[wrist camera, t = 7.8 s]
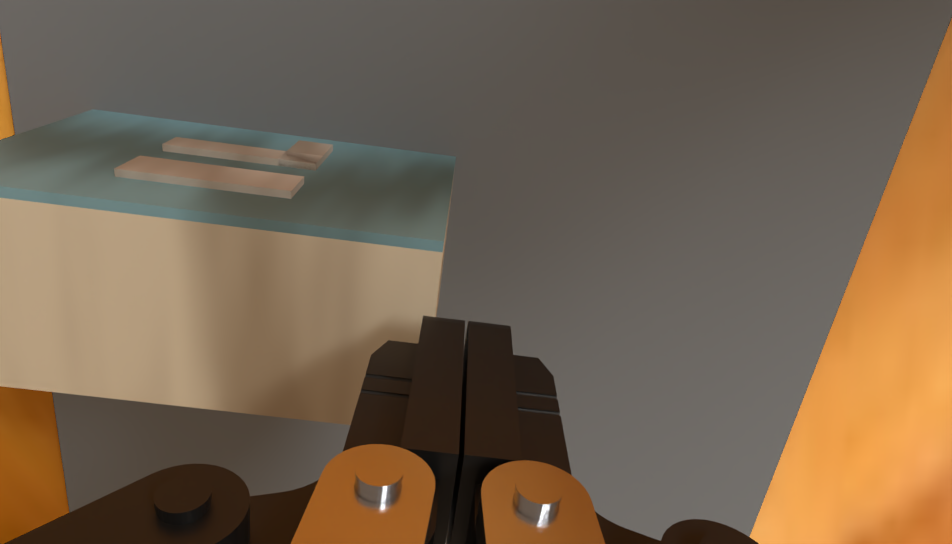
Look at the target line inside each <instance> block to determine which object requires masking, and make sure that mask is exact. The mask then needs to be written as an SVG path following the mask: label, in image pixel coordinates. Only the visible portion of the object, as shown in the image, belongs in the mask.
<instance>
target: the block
mask: <svg viewBox="0 0 952 544" xmlns="http://www.w3.org/2000/svg"><path fill="white" fill-rule="evenodd" d="M455 161H456V157H455V156H447V155H440V154H432V153H424V152H417V151H409V150H401V149H394V148H386V147H378V146H371V145H363V144H355V143H348V142H340V141H332V140H325V139H317V138H309V137H302V136H294V135H286V134H279V133H271V132H263V131H256V130H248V129H240V128H233V127H225V126H217V125H210V124H202V123H194V122H187V121H179V120H171V119H164V118H156V117H148V116H141V115H133V114H125V113H117V112H110V111H102V110H94V109H92V110H89V111H86V112H83V113H80V114H77V115H74V116H71V117H68V118H65V119H62V120H59V121H56V122H53V123H50V124H47V125H44V126H41V127H38V128H35V129H32V130H29V131H26V132H23V133H20V134H17V135H14V136H11V137H8V138H5V139H2V140H0V386H3V387H12V388H21V389H30V390H39V391H48V392H57V393H66V394H75V395H84V396H93V397H102V398H111V399H120V400H129V401H138V402H147V403H156V404H165V405H174V406H183V407H192V408H201V409H210V410H219V411H228V412H237V413H246V414H255V415H264V416H273V417H282V418H291V419H300V420H309V421H318V422H327V423H336V424H345V425H351V422H352V418H353V415H354V412H355V408H356V405H357V401H358V398H359V394H360V393H361V388H362V384H363V381H364V377H365V375H366V371H367V367H368V364H369V360H370V357H371V354H373V353H374V352H375V351H376V350H377V349H379V348H380V347H381V346H382V345H383V344H384V343H386V342H387V341H388V340H391V341H400V342H408V343H417V344H418V342H419V336H420V331H421V325H422V319H423V315H424V316H432V317H436V316H437V309H438V301H439V293H440V285H441V277H442V269H443V260H444V252H445V244H446V235H447V227H448V219H449V210H450V202H451V194H452V186H453V177H454V169H455Z"/></svg>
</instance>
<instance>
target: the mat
mask: <svg viewBox="0 0 952 544" xmlns="http://www.w3.org/2000/svg"><path fill="white" fill-rule="evenodd" d="M951 18H952V0H0V34H1V41H2V48H3V54H4V61H5V68H6V75H7V82H8V89H9V96H10V103H11V110H12V117H13V124H14V131H15V135H17V134H20V133H23V132H26V131H29V130H32V129H35V128H38V127H41V126H44V125H47V124H50V123H53V122H56V121H59V120H62V119H65V118H68V117H71V116H74V115H77V114H80V113H83V112H86V111H89V110H92V109H94V110H102V111H110V112H117V113H125V114H133V115H141V116H148V117H156V118H164V119H171V120H179V121H187V122H194V123H202V124H210V125H217V126H225V127H233V128H240V129H248V130H256V131H263V132H271V133H279V134H286V135H294V136H302V137H309V138H317V139H325V140H332V141H340V142H348V143H355V144H363V145H371V146H378V147H386V148H394V149H401V150H409V151H417V152H424V153H432V154H440V155H447V156H455V157H456V161H455V169H454V177H453V186H452V194H451V202H450V210H449V219H448V227H447V235H446V244H445V252H444V260H443V269H442V277H441V285H440V293H439V301H438V309H437V316H436V317H440V318H449V319H457V320H465V333H464V344H465V337H466V331H467V325H468V321H475V322H483V323H491V324H500V325H508V326H510V327H511V335H512V347H513V355H519V356H528V357H536V358H539V359H540V361H541V362H542V363H543V364H544V365H545V366H546V368H547V369H548V370H549V371H550V372H551V374H552V375H553V376H554V382H555V387H556V393H557V399H558V403H559V409H560V416H561V420H562V425H563V431H564V436H565V442H566V447H567V452H568V458H569V463H570V469H571V474H572V476H573V477H574V478H575V479H577V480H578V481H579V482H580V483H581V484H582V485H583V486H584V488H585V489H586V491H587V492H588V494H589V496H590V498H591V500H592V503H593V506H594V510H595V512H597V513H598V514H599V515H601V516H602V517H604V518H605V519H607V520H609V521H611V522H613V523H615V524H617V525H619V526H621V527H624V528H626V529H629V530H632V531H634V532H637V533H640V534H643V535H646V536H648V537H651V538H654V539H657V540H660V541H661V539H662V536H663V534H664V533H665V531H666V530H667V529H668V528H669V527H670V526H671V525H673V524H675V523H677V522H679V521H683V520H689V519H703V520H709V521H715V522H718V523H721V524H724V525H727V526H729V527H732V528H734V529H736V530H738V531H740V532H742V533H744V534H745V535H747V536H748V537H749V536H750V534H751V531H752V528H753V526H754V523H755V521H756V518H757V516H758V513H759V511H760V508H761V505H762V503H763V500H764V498H765V495H766V493H767V490H768V487H769V485H770V482H771V480H772V477H773V475H774V472H775V470H776V467H777V464H778V462H779V459H780V457H781V454H782V452H783V449H784V446H785V444H786V441H787V439H788V436H789V434H790V431H791V428H792V426H793V423H794V421H795V418H796V416H797V413H798V411H799V408H800V405H801V403H802V400H803V398H804V395H805V393H806V390H807V387H808V385H809V382H810V380H811V377H812V375H813V372H814V369H815V367H816V364H817V362H818V359H819V357H820V354H821V352H822V349H823V346H824V344H825V341H826V339H827V336H828V334H829V331H830V328H831V326H832V323H833V321H834V318H835V316H836V313H837V310H838V308H839V305H840V303H841V300H842V298H843V295H844V293H845V290H846V287H847V285H848V282H849V280H850V277H851V275H852V272H853V269H854V267H855V264H856V262H857V259H858V257H859V254H860V252H861V249H862V246H863V244H864V241H865V239H866V236H867V234H868V231H869V228H870V226H871V223H872V221H873V218H874V216H875V213H876V210H877V208H878V205H879V203H880V200H881V198H882V195H883V193H884V190H885V187H886V185H887V182H888V180H889V177H890V175H891V172H892V169H893V167H894V164H895V162H896V159H897V157H898V154H899V151H900V149H901V146H902V144H903V141H904V139H905V136H906V134H907V131H908V128H909V126H910V123H911V121H912V118H913V116H914V113H915V110H916V108H917V105H918V103H919V100H920V98H921V95H922V92H923V90H924V87H925V85H926V82H927V80H928V77H929V75H930V72H931V69H932V67H933V64H934V62H935V59H936V57H937V54H938V51H939V49H940V46H941V44H942V41H943V39H944V36H945V34H946V31H947V28H948V26H949V23H950V21H951ZM52 394H53V401H54V408H55V415H56V422H57V429H58V436H59V443H60V450H61V457H62V463H63V470H64V477H65V484H66V491H67V498H68V505H69V512H72V511H74V510H76V509H78V508H80V507H83V506H85V505H87V504H89V503H91V502H93V501H95V500H97V499H99V498H102V497H104V496H106V495H108V494H110V493H112V492H114V491H116V490H118V489H121V488H123V487H125V486H127V485H129V484H131V483H133V482H135V481H137V480H140V479H142V478H144V477H146V476H148V475H150V474H152V473H155V472H157V471H160V470H162V469H166V468H169V467H173V466H178V465H183V464H210V465H216V466H219V467H223V468H226V469H228V470H230V471H232V472H234V473H235V474H237V475H238V476H239V477H240V478H241V479H242V480H243V481H244V482H245V484H246V485H247V487H248V490H249V494H250V496H256V495H263V494H271V493H278V492H285V491H290V490H294V489H298V488H301V487H304V486H307V485H309V484H311V483H314V482H315V481H317V480H319V478H320V476H321V474H322V471H323V470H324V468H325V466H326V465H327V464H328V463H329V462H330V460H331V459H333V458H334V457H335V456H337V455H338V454H340V453H342V452H343V449H344V446H345V442H346V439H347V435H348V432H349V429H350V425H345V424H336V423H327V422H318V421H309V420H300V419H291V418H282V417H273V416H264V415H255V414H246V413H237V412H228V411H219V410H210V409H201V408H192V407H183V406H174V405H165V404H156V403H147V402H138V401H129V400H120V399H111V398H102V397H93V396H84V395H75V394H66V393H57V392H52ZM446 537H447V536H446ZM445 544H446V543H445Z"/></svg>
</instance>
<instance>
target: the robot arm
mask: <svg viewBox="0 0 952 544" xmlns="http://www.w3.org/2000/svg"><path fill="white" fill-rule="evenodd" d="M464 333H465V320H457V319H449V318H440V317H432V316H424V315H423V319H422V325H421V331H420V336H419V342H418V344H417V343H408V342H400V341H391V340H388V341H387V342H386V343H384V344H383V345H382V346H381V347H380V348H379V349H377V350H376V351H375V352H374V353H373V354H371V357H370V360H369V364H368V367H367V371H366V375H365V377H364V381H363V384H362V388H361V393H360V394H359V398H358V401H357V405H356V408H355V412H354V415H353V418H352V422H351V425H350V429H349V432H348V435H347V439H346V442H345V446H344V449H343V452H342V453H340V454H338V455H337V456H335V457H334V458H333V459H331V460H330V462H329V463H328V464H327V465H326V466H325V468H324V470H323V471H322V474H321V476H320V478H319V480H317V481H315V482H314V483H311V484H309V485H307V486H304V487H301V488H298V489H294V490H290V491H285V492H278V493H271V494H263V495H256V496H250V494H249V490H248V487H247V485H246V484H245V482H244V481H243V480H242V479H241V478H240V477H239V476H238V475H237V474H235V473H234V472H232V471H230V470H228V469H226V468H223V467H219V466H216V465H210V464H183V465H178V466H173V467H169V468H166V469H162V470H160V471H157V472H155V473H152V474H150V475H148V476H146V477H144V478H142V479H140V480H137V481H135V482H133V483H131V484H129V485H127V486H125V487H123V488H121V489H118V490H116V491H114V492H112V493H110V494H108V495H106V496H104V497H102V498H99V499H97V500H95V501H93V502H91V503H89V504H87V505H85V506H83V507H80V508H78V509H76V510H74V511H72V512H70V513H68V514H66V515H64V516H62V517H59V518H57V519H55V520H53V521H51V522H49V523H47V524H45V525H43V526H40V527H38V528H36V529H34V530H32V531H30V532H28V533H26V534H24V535H21V536H19V537H17V538H15V539H13V540H11V541H9V542H7V543H5V544H445V543H446V544H758V543H757V542H756V541H754V540H753V539H751V538H750V537H748V536H747V535H745V534H744V533H742V532H740V531H738V530H736V529H734V528H732V527H729V526H727V525H724V524H721V523H718V522H715V521H709V520H703V519H689V520H683V521H679V522H677V523H675V524H673V525H671V526H670V527H669V528H668V529H667V530H666V531H665V533H664V534H663V536H662V539H661V541H660V540H657V539H654V538H651V537H648V536H646V535H643V534H640V533H637V532H634V531H632V530H629V529H626V528H624V527H621V526H619V525H617V524H615V523H613V522H611V521H609V520H607V519H605V518H604V517H602V516H601V515H599V514H598V513H597V512H595V510H594V506H593V503H592V500H591V498H590V496H589V494H588V492H587V491H586V489H585V488H584V486H583V485H582V484H581V483H580V482H579V481H578V480H577V479H575V478H574V477H573V476H572V474H571V469H570V463H569V458H568V452H567V447H566V442H565V436H564V431H563V425H562V420H561V416H560V409H559V403H558V399H557V393H556V387H555V382H554V376H553V375H552V374H551V372H550V371H549V370H548V369H547V368H546V366H545V365H544V364H543V363H542V362H541V361H540V359H539V358H536V357H528V356H519V355H513V347H512V335H511V327H510V326H508V325H500V324H491V323H483V322H475V321H468V325H467V331H466V337H465V344H464ZM446 536H447V537H446Z"/></svg>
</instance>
